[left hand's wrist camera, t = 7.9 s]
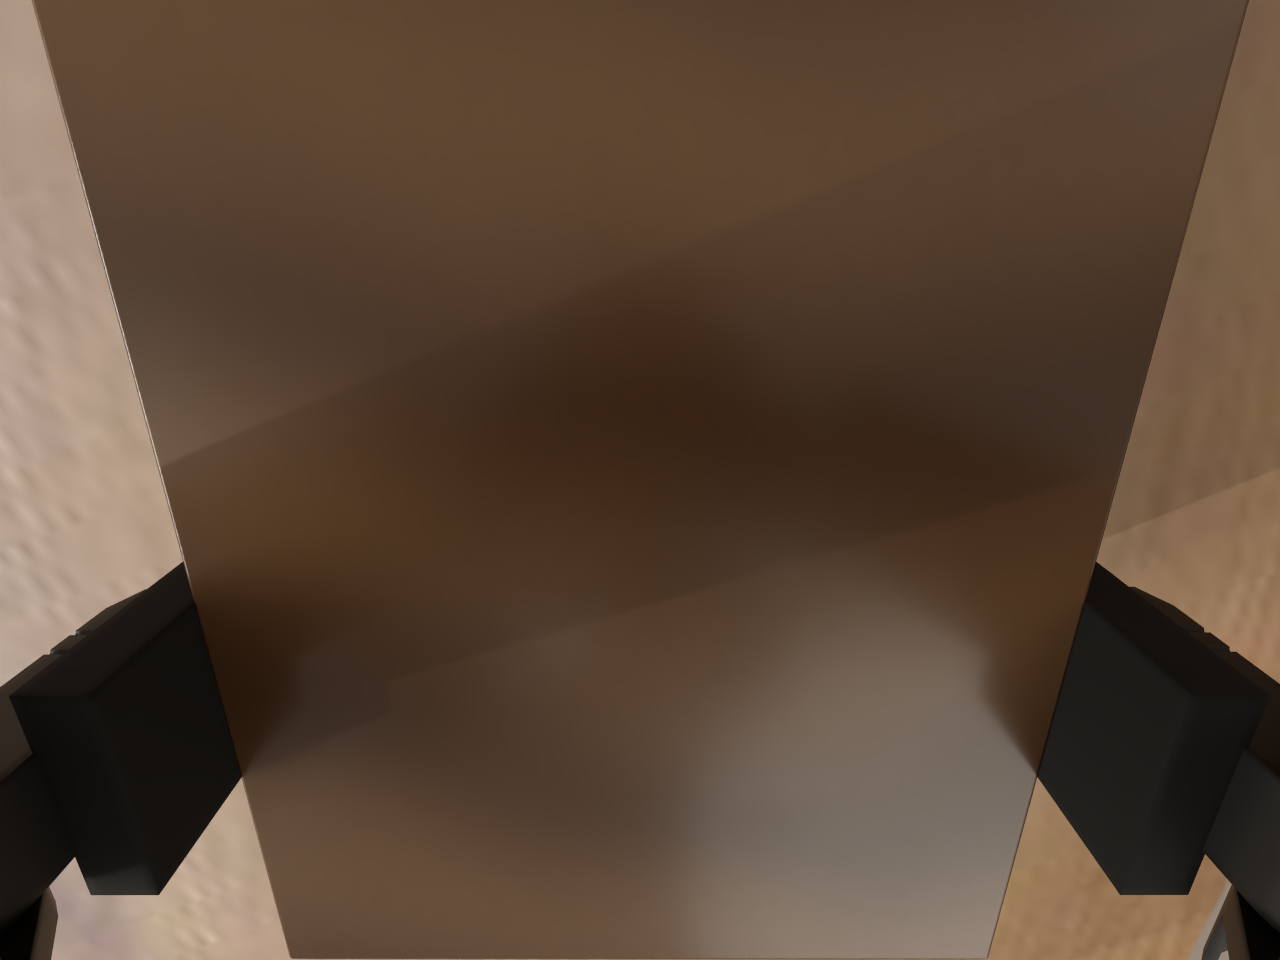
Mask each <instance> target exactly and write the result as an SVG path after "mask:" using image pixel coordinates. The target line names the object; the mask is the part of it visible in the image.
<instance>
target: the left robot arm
mask: <svg viewBox="0 0 1280 960" xmlns="http://www.w3.org/2000/svg"><path fill="white" fill-rule="evenodd" d="M1037 777H1038V778H1039V780H1040V781H1041V783H1042V784H1043V785H1044V787H1045V788H1046V790H1047V791H1048V793H1049V794H1050V795H1051V797H1052V798H1053V800H1054V801H1055V803H1056V804H1057V805H1058V807H1059V808H1060V810H1061V811H1062V813H1063V814H1064V815H1065V817H1066V818H1067V820H1068V821H1069V822H1070V824H1071V825H1072V827H1073V828H1074V830H1075V831H1076V832H1077V834H1078V835H1079V837H1080V838H1081V840H1082V841H1083V842H1084V844H1085V845H1086V847H1087V848H1088V850H1089V851H1090V852H1091V854H1092V855H1093V857H1094V858H1095V860H1096V861H1097V862H1098V864H1099V865H1100V867H1101V868H1102V870H1103V871H1104V872H1105V874H1106V875H1107V877H1108V878H1109V880H1110V881H1111V882H1112V884H1113V885H1114V887H1115V888H1116V889H1117V891H1118V892H1119V894H1120V895H1188V894H1189V891H1190V889H1191V887H1192V884H1193V882H1194V879H1195V877H1196V874H1197V872H1198V870H1199V867H1200V865H1201V862H1202V860H1203V857H1204V855H1205V854H1206V855H1207V856H1208V857H1209V859H1210V860H1211V861H1212V862H1213V863H1214V864H1215V865H1216V867H1217V868H1218V869H1219V870H1220V871H1221V872H1222V873H1223V874H1224V876H1225V877H1226V878H1227V879H1228V880H1229V881H1230V882H1231V884H1232V885H1231V888H1230V890H1229V892H1228V895H1227V897H1226V899H1225V901H1224V903H1223V906H1222V908H1221V910H1220V913H1219V915H1218V917H1217V919H1216V922H1215V924H1214V926H1213V928H1212V931H1211V933H1210V935H1209V937H1208V940H1207V942H1206V944H1205V946H1204V949H1203V955H1202V960H1218V959H1219V956H1220V954H1221V953H1222V952H1224V951H1227V950H1228V953H1229V960H1280V684H1279V683H1278V682H1276V681H1275V680H1274V679H1272V678H1271V677H1269V676H1268V675H1267V674H1265V673H1264V672H1263V671H1261V670H1260V669H1259V668H1257V667H1256V666H1255V665H1253V664H1252V663H1251V662H1249V661H1248V660H1247V659H1245V658H1244V657H1242V656H1241V655H1240V654H1238V653H1237V652H1230V650H1229V646H1228V645H1226V644H1225V643H1224V642H1222V641H1221V640H1219V639H1218V638H1217V637H1215V636H1214V635H1213V634H1211V633H1205V632H1204V628H1203V627H1202V626H1201V625H1199V624H1198V623H1197V622H1195V621H1194V620H1192V619H1191V618H1190V617H1188V616H1187V615H1186V614H1184V613H1183V612H1182V611H1180V610H1179V609H1178V608H1176V607H1175V606H1173V605H1171V604H1169V603H1167V602H1165V601H1163V600H1161V599H1159V598H1157V597H1155V596H1152V595H1150V594H1148V593H1146V592H1144V591H1142V590H1140V589H1138V588H1136V587H1128V586H1127V585H1126V584H1124V583H1123V582H1122V581H1121V580H1119V579H1118V578H1117V577H1115V576H1114V575H1113V574H1111V573H1110V572H1109V571H1108V570H1106V569H1105V568H1104V567H1102V566H1101V565H1100V564H1099V563H1097V562H1096V563H1095V567H1094V570H1093V574H1092V578H1091V581H1090V585H1089V589H1088V592H1087V596H1086V600H1085V603H1084V607H1083V611H1082V614H1081V618H1080V622H1079V625H1078V629H1077V633H1076V636H1075V640H1074V644H1073V647H1072V651H1071V655H1070V658H1069V662H1068V666H1067V669H1066V673H1065V677H1064V680H1063V684H1062V688H1061V691H1060V695H1059V699H1058V702H1057V706H1056V710H1055V713H1054V717H1053V721H1052V724H1051V728H1050V732H1049V735H1048V739H1047V743H1046V746H1045V750H1044V754H1043V757H1042V761H1041V765H1040V768H1039V772H1038V776H1037ZM240 779H241V773H240V769H239V766H238V762H237V758H236V755H235V751H234V747H233V744H232V740H231V736H230V732H229V729H228V725H227V721H226V718H225V714H224V710H223V707H222V703H221V699H220V695H219V692H218V688H217V684H216V681H215V677H214V673H213V669H212V666H211V662H210V658H209V655H208V651H207V647H206V644H205V640H204V636H203V632H202V629H201V625H200V621H199V618H198V614H197V610H196V606H195V603H194V599H193V595H192V592H191V588H190V584H189V581H188V577H187V573H186V569H185V566H184V562H182V563H181V564H179V565H178V566H177V567H175V568H174V569H173V570H172V571H170V572H169V573H168V574H166V575H165V576H164V577H162V578H161V579H160V580H159V581H157V582H156V583H155V584H153V585H152V586H151V587H149V588H148V589H145V590H143V591H141V592H139V593H137V594H135V595H133V596H131V597H129V598H127V599H125V600H122V601H120V602H118V603H116V604H114V605H112V606H110V607H108V608H106V609H105V610H103V611H102V612H100V613H99V614H98V615H96V616H95V617H94V618H92V619H91V620H90V621H88V622H87V623H86V624H84V625H83V626H82V627H80V628H79V629H78V630H76V634H75V635H70V636H68V637H67V638H66V639H64V640H63V641H62V642H60V643H59V644H58V645H56V646H55V647H54V648H52V649H51V652H50V655H43V656H42V657H40V658H39V659H37V660H36V661H35V662H33V663H32V664H31V665H29V666H28V667H27V668H25V669H24V670H23V671H21V672H20V673H19V674H17V675H16V676H15V677H13V678H12V679H11V680H9V681H8V682H7V683H5V684H4V685H3V686H1V687H0V960H51V956H52V950H53V944H54V938H55V932H56V926H57V920H58V913H57V907H56V901H55V899H54V897H53V894H52V892H51V890H50V888H49V886H50V885H51V883H52V882H53V881H54V880H55V879H56V878H57V877H58V875H59V874H60V873H61V872H62V871H63V870H64V869H65V867H66V866H67V865H68V864H69V863H70V862H71V861H72V859H73V858H74V857H75V858H76V860H77V863H78V865H79V867H80V870H81V872H82V875H83V877H84V879H85V882H86V884H87V887H88V889H89V892H90V894H91V895H159V894H160V893H161V891H162V890H163V888H164V887H165V886H166V884H167V883H168V881H169V880H170V878H171V877H172V876H173V874H174V873H175V871H176V870H177V868H178V867H179V866H180V864H181V863H182V861H183V860H184V858H185V857H186V856H187V854H188V853H189V851H190V850H191V848H192V847H193V846H194V844H195V843H196V841H197V840H198V838H199V837H200V836H201V834H202V833H203V831H204V830H205V829H206V827H207V826H208V824H209V823H210V821H211V820H212V819H213V817H214V816H215V814H216V813H217V811H218V810H219V809H220V807H221V806H222V804H223V803H224V801H225V800H226V799H227V797H228V796H229V794H230V793H231V791H232V790H233V789H234V787H235V786H236V784H237V783H238V781H239V780H240Z"/></svg>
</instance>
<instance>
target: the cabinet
mask: <svg viewBox="0 0 1280 960" xmlns="http://www.w3.org/2000/svg"><path fill="white" fill-rule="evenodd" d="M1248 2H1249V0H32V3H33V6H34V10H35V14H36V17H37V21H38V25H39V29H40V32H41V36H42V40H43V43H44V47H45V51H46V55H47V58H48V62H49V66H50V69H51V73H52V77H53V80H54V84H55V88H56V92H57V95H58V99H59V103H60V106H61V110H62V114H63V118H64V121H65V125H66V129H67V132H68V136H69V140H70V143H71V147H72V151H73V155H74V158H75V162H76V166H77V169H78V173H79V177H80V180H81V184H82V188H83V192H84V195H85V199H86V203H87V206H88V210H89V214H90V218H91V221H92V225H93V229H94V232H95V236H96V240H97V243H98V247H99V251H100V255H101V258H102V262H103V266H104V269H105V273H106V277H107V281H108V284H109V288H110V292H111V295H112V299H113V303H114V306H115V310H116V314H117V318H118V321H119V325H120V329H121V332H122V336H123V340H124V343H125V347H126V351H127V355H128V358H129V362H130V366H131V369H132V373H133V377H134V381H135V384H136V388H137V392H138V395H139V399H140V403H141V406H142V410H143V414H144V418H145V421H146V425H147V429H148V432H149V436H150V440H151V444H152V447H153V451H154V455H155V458H156V462H157V466H158V469H159V473H160V477H161V481H162V484H163V488H164V492H165V495H166V499H167V503H168V506H169V510H170V514H171V518H172V521H173V525H174V529H175V532H176V536H177V540H178V544H179V547H180V551H181V555H182V558H183V562H184V566H185V569H186V573H187V577H188V581H189V584H190V588H191V592H192V595H193V599H194V603H195V606H196V610H197V614H198V618H199V621H200V625H201V629H202V632H203V636H204V640H205V644H206V647H207V651H208V655H209V658H210V662H211V666H212V669H213V673H214V677H215V681H216V684H217V688H218V692H219V695H220V699H221V703H222V707H223V710H224V714H225V718H226V721H227V725H228V729H229V732H230V736H231V740H232V744H233V747H234V751H235V755H236V758H237V762H238V766H239V769H240V773H241V777H242V781H243V784H244V788H245V792H246V795H247V799H248V803H249V807H250V810H251V814H252V818H253V821H254V825H255V829H256V832H257V836H258V840H259V844H260V847H261V851H262V855H263V858H264V862H265V866H266V870H267V873H268V877H269V881H270V884H271V888H272V892H273V895H274V899H275V903H276V907H277V910H278V914H279V918H280V921H281V925H282V929H283V932H284V936H285V940H286V944H287V947H288V951H289V955H290V957H291V958H293V959H986V958H988V955H989V952H990V948H991V944H992V941H993V937H994V933H995V930H996V926H997V922H998V919H999V915H1000V911H1001V908H1002V904H1003V900H1004V897H1005V893H1006V889H1007V886H1008V882H1009V878H1010V875H1011V871H1012V867H1013V864H1014V860H1015V856H1016V853H1017V849H1018V845H1019V842H1020V838H1021V834H1022V831H1023V827H1024V823H1025V820H1026V816H1027V812H1028V809H1029V805H1030V801H1031V798H1032V794H1033V790H1034V787H1035V783H1036V779H1037V776H1038V772H1039V768H1040V765H1041V761H1042V757H1043V754H1044V750H1045V746H1046V743H1047V739H1048V735H1049V732H1050V728H1051V724H1052V721H1053V717H1054V713H1055V710H1056V706H1057V702H1058V699H1059V695H1060V691H1061V688H1062V684H1063V680H1064V677H1065V673H1066V669H1067V666H1068V662H1069V658H1070V655H1071V651H1072V647H1073V644H1074V640H1075V636H1076V633H1077V629H1078V625H1079V622H1080V618H1081V614H1082V611H1083V607H1084V603H1085V600H1086V596H1087V592H1088V589H1089V585H1090V581H1091V578H1092V574H1093V570H1094V567H1095V563H1096V559H1097V556H1098V552H1099V548H1100V545H1101V541H1102V537H1103V534H1104V530H1105V526H1106V522H1107V519H1108V515H1109V511H1110V508H1111V504H1112V500H1113V497H1114V493H1115V489H1116V486H1117V482H1118V478H1119V475H1120V471H1121V467H1122V464H1123V460H1124V456H1125V453H1126V449H1127V445H1128V442H1129V438H1130V434H1131V431H1132V427H1133V423H1134V420H1135V416H1136V412H1137V409H1138V405H1139V401H1140V398H1141V394H1142V390H1143V387H1144V383H1145V379H1146V376H1147V372H1148V368H1149V365H1150V361H1151V357H1152V354H1153V350H1154V346H1155V343H1156V339H1157V335H1158V332H1159V328H1160V324H1161V321H1162V317H1163V313H1164V310H1165V306H1166V302H1167V299H1168V295H1169V291H1170V288H1171V284H1172V280H1173V277H1174V273H1175V269H1176V266H1177V262H1178V258H1179V255H1180V251H1181V247H1182V244H1183V240H1184V236H1185V233H1186V229H1187V225H1188V222H1189V218H1190V214H1191V211H1192V207H1193V203H1194V200H1195V196H1196V192H1197V189H1198V185H1199V181H1200V178H1201V174H1202V170H1203V167H1204V163H1205V159H1206V156H1207V152H1208V148H1209V145H1210V141H1211V137H1212V134H1213V130H1214V126H1215V123H1216V119H1217V115H1218V112H1219V108H1220V104H1221V101H1222V97H1223V93H1224V90H1225V86H1226V82H1227V79H1228V75H1229V71H1230V68H1231V64H1232V60H1233V57H1234V53H1235V49H1236V46H1237V42H1238V38H1239V35H1240V31H1241V27H1242V24H1243V20H1244V16H1245V13H1246V9H1247V5H1248Z"/></svg>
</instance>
